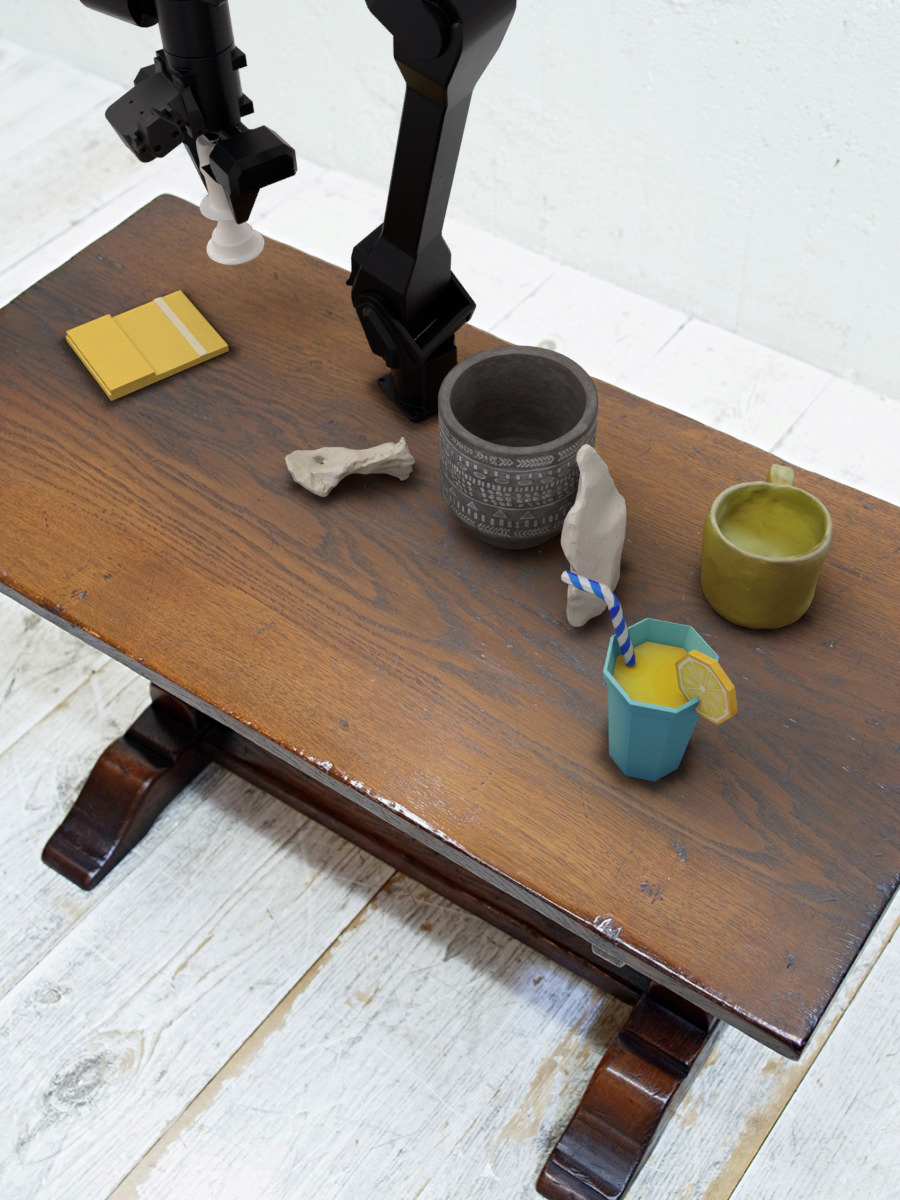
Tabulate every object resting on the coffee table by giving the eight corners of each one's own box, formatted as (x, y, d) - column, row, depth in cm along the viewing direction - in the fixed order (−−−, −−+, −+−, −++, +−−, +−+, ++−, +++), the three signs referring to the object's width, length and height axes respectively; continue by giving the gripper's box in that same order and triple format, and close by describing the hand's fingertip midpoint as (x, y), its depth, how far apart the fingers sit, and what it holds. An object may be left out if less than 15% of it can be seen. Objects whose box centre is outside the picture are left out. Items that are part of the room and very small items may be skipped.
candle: (254, 268, 117) (229, 153, 107) (199, 263, 118) (169, 148, 108) (271, 231, 120) (248, 116, 110) (217, 226, 121) (190, 111, 111)
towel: (229, 351, 120) (227, 340, 119) (111, 401, 116) (108, 391, 115) (181, 295, 126) (179, 285, 125) (67, 341, 122) (63, 331, 121)
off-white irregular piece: (285, 467, 111) (279, 429, 107) (404, 445, 112) (401, 407, 109) (296, 514, 107) (289, 476, 104) (418, 490, 109) (416, 452, 105)
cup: (524, 732, 93) (530, 603, 82) (582, 661, 97) (596, 529, 86) (692, 833, 88) (724, 711, 76) (747, 754, 92) (785, 627, 80)
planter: (588, 462, 110) (598, 345, 100) (588, 571, 103) (600, 457, 93) (446, 457, 111) (442, 341, 101) (436, 565, 103) (431, 451, 93)
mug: (813, 657, 95) (806, 542, 90) (683, 635, 100) (670, 525, 95) (863, 570, 103) (860, 459, 98) (740, 554, 108) (731, 449, 103)
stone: (623, 644, 97) (601, 498, 87) (568, 641, 99) (541, 497, 88) (642, 546, 104) (624, 399, 94) (591, 544, 105) (568, 399, 95)
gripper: (58, 23, 105) (102, 190, 118) (158, 125, 96) (195, 295, 108) (180, -16, 109) (211, 150, 121) (289, 78, 99) (310, 248, 112)
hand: (228, 208), depth 115 cm, fingers closed on candle, 5 cm apart
